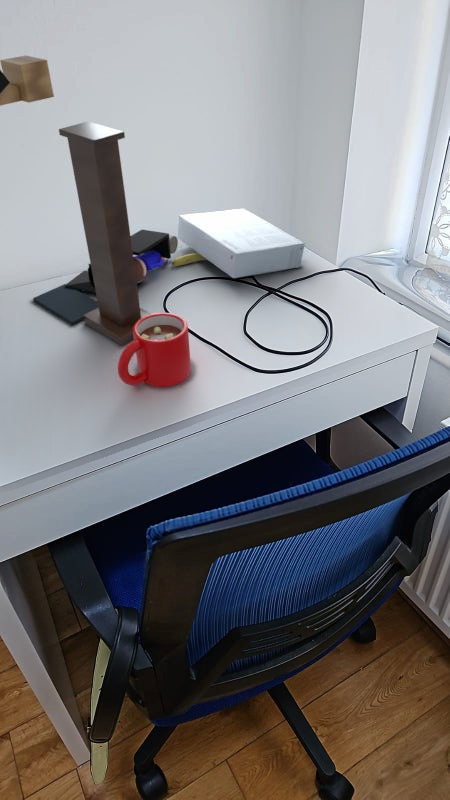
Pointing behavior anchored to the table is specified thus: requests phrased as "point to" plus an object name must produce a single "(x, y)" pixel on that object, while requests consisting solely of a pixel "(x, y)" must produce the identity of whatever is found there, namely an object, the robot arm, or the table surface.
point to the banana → (188, 259)
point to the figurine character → (151, 250)
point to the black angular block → (85, 282)
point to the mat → (67, 303)
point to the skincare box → (240, 242)
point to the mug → (158, 351)
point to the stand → (105, 228)
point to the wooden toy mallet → (26, 80)
